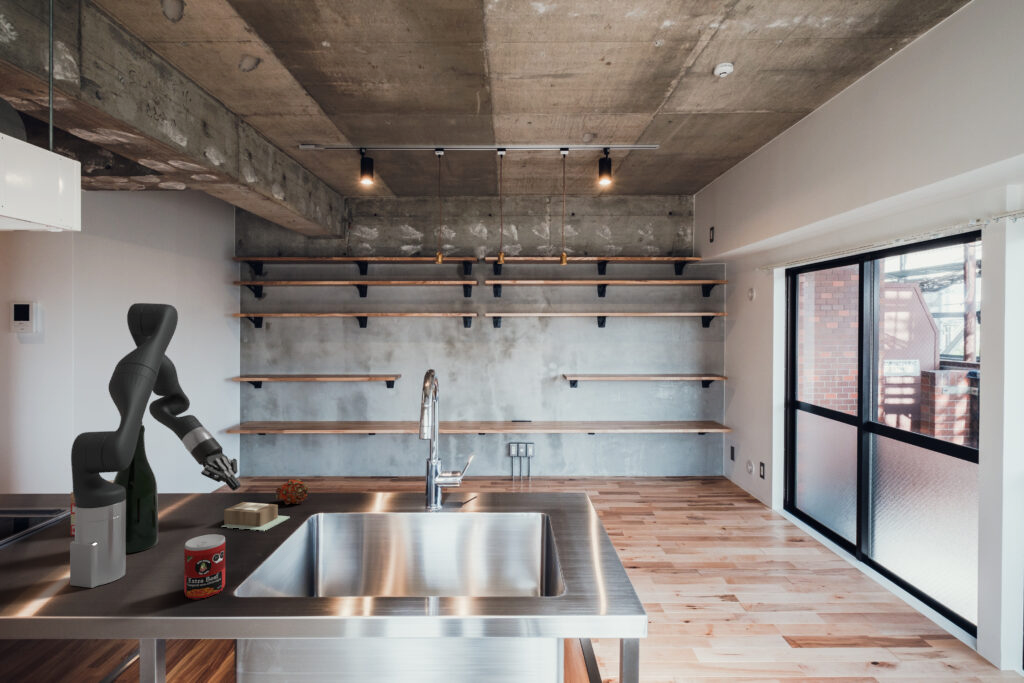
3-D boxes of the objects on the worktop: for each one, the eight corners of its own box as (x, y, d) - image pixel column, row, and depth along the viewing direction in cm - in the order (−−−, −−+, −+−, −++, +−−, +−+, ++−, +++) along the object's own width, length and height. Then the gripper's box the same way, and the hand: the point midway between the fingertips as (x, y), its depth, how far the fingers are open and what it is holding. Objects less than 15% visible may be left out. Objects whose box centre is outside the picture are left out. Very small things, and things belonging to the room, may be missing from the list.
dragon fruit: (307, 510, 179) (278, 512, 182) (319, 489, 185) (290, 491, 189) (294, 493, 174) (264, 495, 178) (307, 472, 181) (277, 475, 185)
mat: (264, 531, 155) (264, 529, 155) (221, 527, 158) (221, 526, 158) (289, 517, 166) (289, 516, 166) (249, 514, 169) (249, 513, 169)
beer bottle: (142, 554, 137) (143, 423, 137) (99, 555, 137) (99, 424, 137) (166, 539, 148) (167, 418, 148) (126, 540, 147) (126, 418, 147)
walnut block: (224, 523, 160) (260, 526, 157) (224, 508, 160) (260, 511, 157) (243, 515, 167) (277, 517, 165) (243, 501, 167) (277, 503, 165)
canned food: (181, 603, 112) (181, 549, 112) (187, 586, 120) (187, 536, 120) (223, 596, 115) (223, 544, 115) (226, 580, 123) (226, 532, 123)
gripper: (192, 441, 159) (229, 485, 156) (225, 433, 172) (259, 474, 169) (177, 458, 160) (213, 502, 157) (210, 449, 173) (244, 490, 170)
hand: (237, 488), depth 163 cm, fingers closed
